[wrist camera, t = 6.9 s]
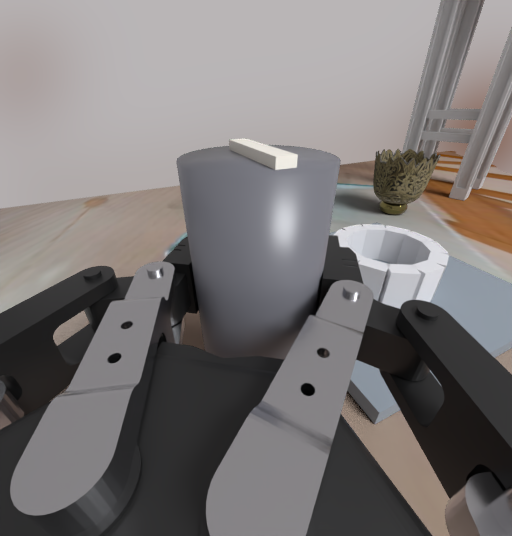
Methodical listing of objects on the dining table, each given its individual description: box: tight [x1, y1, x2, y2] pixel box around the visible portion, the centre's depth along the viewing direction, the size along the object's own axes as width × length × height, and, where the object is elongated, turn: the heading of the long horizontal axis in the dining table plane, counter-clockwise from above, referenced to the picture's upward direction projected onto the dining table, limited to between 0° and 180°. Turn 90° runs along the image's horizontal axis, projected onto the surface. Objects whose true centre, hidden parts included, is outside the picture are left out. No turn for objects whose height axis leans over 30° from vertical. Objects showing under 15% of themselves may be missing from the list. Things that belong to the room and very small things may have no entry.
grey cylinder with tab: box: [177, 138, 340, 360], centre depth 11 cm, size 5×5×11 cm
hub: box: [329, 223, 512, 424], centre depth 23 cm, size 18×18×4 cm
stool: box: [402, 0, 512, 200], centre depth 41 cm, size 16×16×35 cm
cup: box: [373, 149, 440, 215], centre depth 37 cm, size 7×7×8 cm
